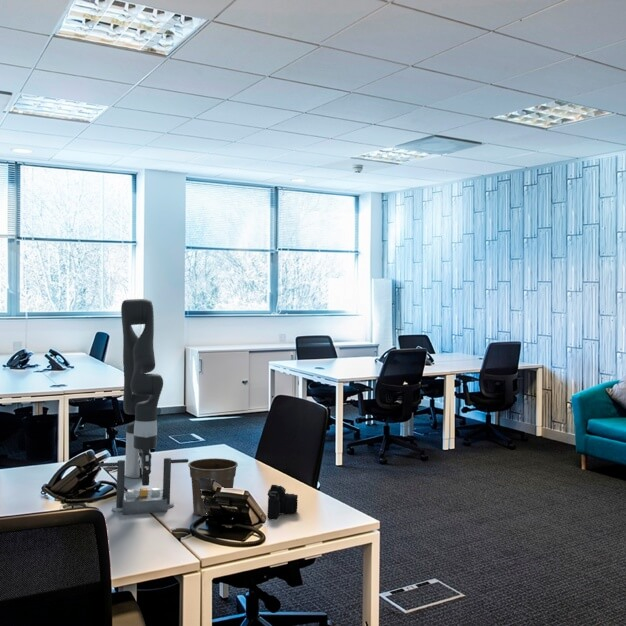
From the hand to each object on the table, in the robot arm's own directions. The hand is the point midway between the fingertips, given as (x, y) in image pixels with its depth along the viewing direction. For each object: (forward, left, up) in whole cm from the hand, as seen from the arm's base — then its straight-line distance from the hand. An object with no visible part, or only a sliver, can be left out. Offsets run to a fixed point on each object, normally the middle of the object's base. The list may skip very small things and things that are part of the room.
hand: (144, 481), depth 223 cm
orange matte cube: (0, 0, -5) cm, 5 cm away
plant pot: (+10, +21, -9) cm, 25 cm away
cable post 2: (0, +10, -9) cm, 13 cm away
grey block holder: (0, 0, -9) cm, 9 cm away
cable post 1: (0, -10, -9) cm, 13 cm away
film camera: (+17, +43, -9) cm, 47 cm away
